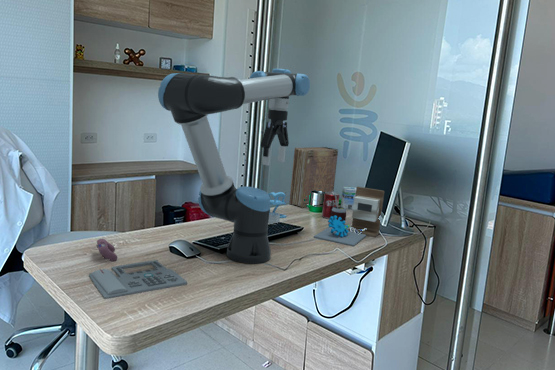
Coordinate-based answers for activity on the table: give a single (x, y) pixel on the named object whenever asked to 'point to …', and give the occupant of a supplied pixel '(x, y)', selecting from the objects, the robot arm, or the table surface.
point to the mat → (349, 239)
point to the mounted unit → (367, 210)
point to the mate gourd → (338, 211)
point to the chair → (277, 201)
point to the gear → (338, 226)
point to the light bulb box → (348, 197)
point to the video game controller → (106, 250)
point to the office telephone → (134, 279)
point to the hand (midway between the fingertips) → (273, 163)
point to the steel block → (273, 218)
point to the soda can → (329, 204)
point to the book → (312, 173)
